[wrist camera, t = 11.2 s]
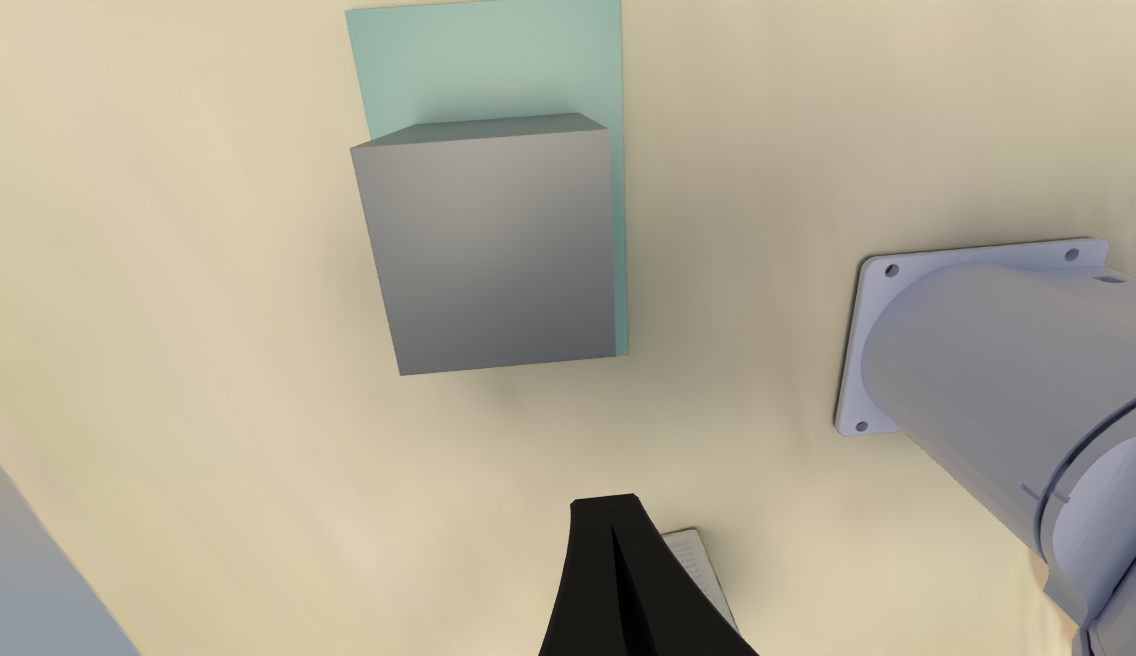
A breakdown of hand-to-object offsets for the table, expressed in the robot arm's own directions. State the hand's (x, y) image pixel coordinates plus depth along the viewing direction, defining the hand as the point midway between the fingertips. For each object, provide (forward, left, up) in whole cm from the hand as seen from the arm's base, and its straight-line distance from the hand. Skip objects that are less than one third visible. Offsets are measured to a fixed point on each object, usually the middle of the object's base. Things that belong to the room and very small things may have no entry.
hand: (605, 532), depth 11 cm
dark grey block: (+2, -5, -10) cm, 11 cm away
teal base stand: (+2, -5, -10) cm, 12 cm away
